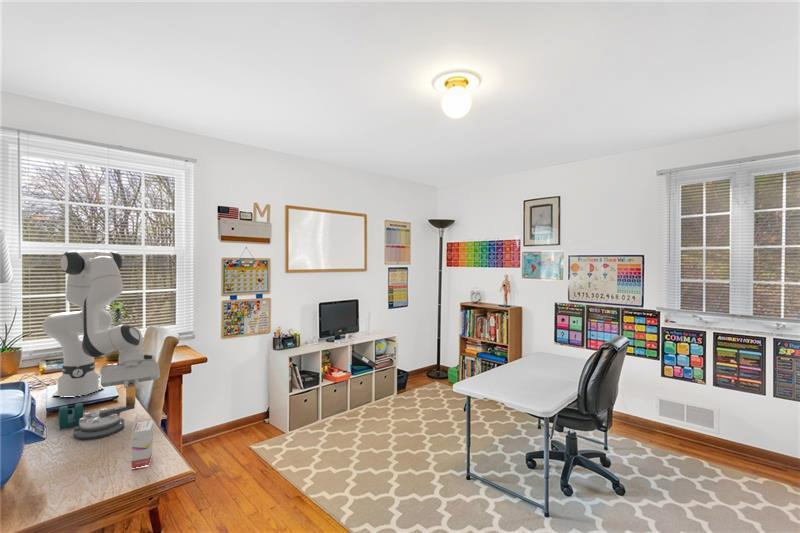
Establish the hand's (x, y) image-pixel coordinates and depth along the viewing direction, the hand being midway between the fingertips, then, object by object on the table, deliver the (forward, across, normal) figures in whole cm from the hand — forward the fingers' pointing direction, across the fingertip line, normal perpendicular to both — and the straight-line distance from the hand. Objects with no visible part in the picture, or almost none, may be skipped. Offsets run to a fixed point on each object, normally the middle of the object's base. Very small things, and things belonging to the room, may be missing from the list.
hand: (131, 391), depth 156 cm
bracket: (+1, -20, +14) cm, 24 cm away
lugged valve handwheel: (+11, -7, 0) cm, 13 cm away
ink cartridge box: (+39, +2, -23) cm, 45 cm away
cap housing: (+14, -10, +1) cm, 17 cm away
